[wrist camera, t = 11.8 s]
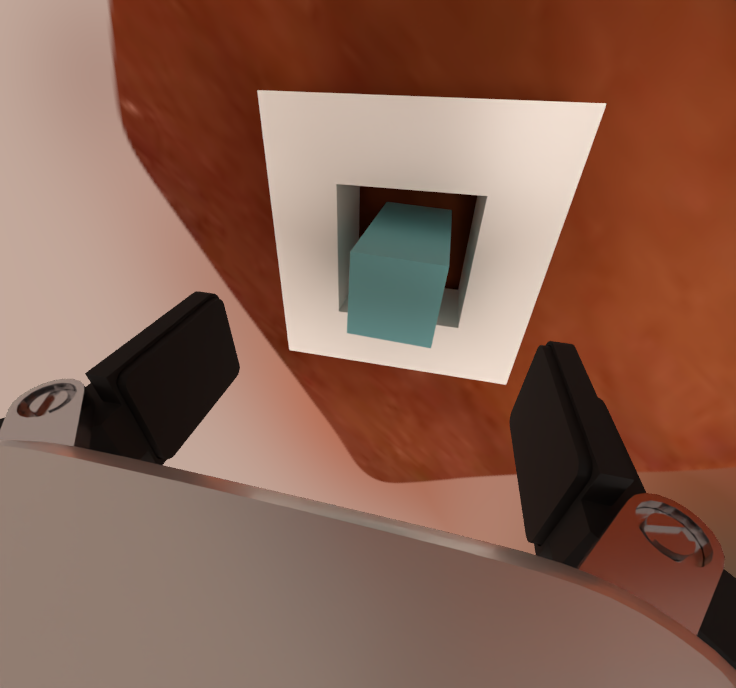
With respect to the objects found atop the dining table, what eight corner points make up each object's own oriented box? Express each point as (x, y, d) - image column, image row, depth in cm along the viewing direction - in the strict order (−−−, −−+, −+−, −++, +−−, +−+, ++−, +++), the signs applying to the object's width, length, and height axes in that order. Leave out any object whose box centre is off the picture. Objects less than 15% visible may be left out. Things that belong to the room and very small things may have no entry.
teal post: (386, 201, 21) (350, 251, 14) (452, 209, 21) (449, 266, 13) (380, 262, 23) (346, 333, 16) (439, 271, 23) (430, 348, 16)
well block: (299, 93, 19) (257, 90, 15) (570, 103, 17) (606, 103, 13) (314, 313, 27) (289, 349, 23) (498, 339, 25) (505, 384, 21)
